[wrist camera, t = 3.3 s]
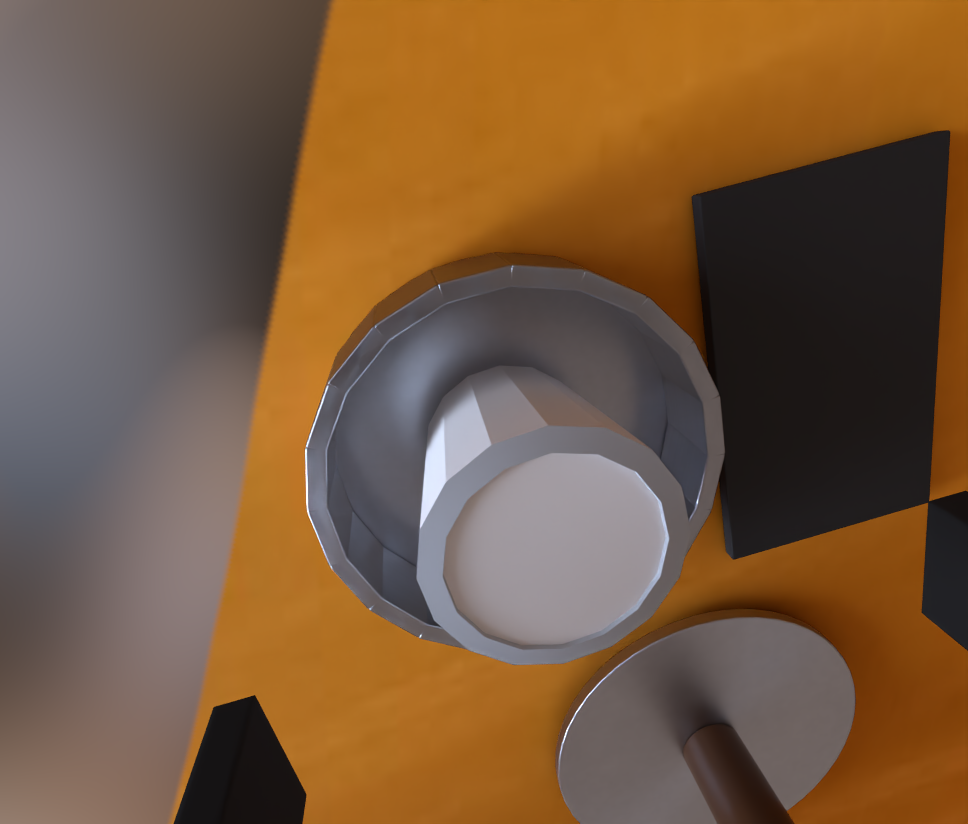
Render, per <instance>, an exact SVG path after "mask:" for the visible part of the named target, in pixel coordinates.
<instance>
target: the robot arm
mask: <svg viewBox="0 0 968 824" xmlns="http://www.w3.org/2000/svg"><path fill="white" fill-rule="evenodd" d="M922 613H923V614H924V615H925V616H926V617H927V618H929V619H930V620H931V621H932V622H933V623H935V624H936V625H937V626H938V627H940V628H941V629H942V630H943V631H944V632H946V633H947V634H948V635H949V636H950V637H952V638H953V639H954V640H955V641H957V642H958V643H959V644H960V645H961V646H963V647H964V648H965V649H966V650H967V651H968V492H967V491H963V492H960V493H956V494H953V495H949V496H946V497H942V498H939V499H935V500H932V501H929V502H928V517H927V533H926V550H925V567H924V583H923V600H922ZM305 802H306V793H305V791H304V789H303V787H302V785H301V783H300V781H299V779H298V777H297V775H296V773H295V771H294V769H293V768H292V766H291V764H290V762H289V760H288V758H287V756H286V754H285V752H284V750H283V748H282V746H281V744H280V743H279V741H278V739H277V737H276V735H275V733H274V731H273V729H272V727H271V725H270V723H269V721H268V719H267V717H266V716H265V714H264V712H263V710H262V708H261V706H260V704H259V702H258V700H257V698H256V696H255V695H254V696H251V697H247V698H244V699H240V700H237V701H233V702H230V703H226V704H223V705H219V706H216V707H214V708H213V711H212V714H211V717H210V719H209V722H208V725H207V728H206V731H205V734H204V737H203V740H202V743H201V746H200V749H199V751H198V754H197V757H196V760H195V763H194V766H193V769H192V772H191V775H190V778H189V781H188V783H187V786H186V789H185V792H184V795H183V798H182V801H181V804H180V807H179V810H178V813H177V816H176V818H175V821H174V824H302V822H303V815H304V808H305Z"/></svg>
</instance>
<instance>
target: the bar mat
mask: <svg viewBox="0 0 968 824" xmlns="http://www.w3.org/2000/svg"><path fill="white" fill-rule="evenodd" d="M949 145H950V131H948V130H946V131H936V132H932V133H928V134H924V135H920V136H916V137H913V138H909V139H905V140H901V141H897V142H894V143H890V144H886V145H882V146H878V147H875V148H871V149H867V150H863V151H859V152H856V153H852V154H848V155H844V156H840V157H837V158H833V159H829V160H825V161H821V162H818V163H814V164H810V165H806V166H802V167H799V168H795V169H791V170H787V171H783V172H780V173H776V174H772V175H768V176H764V177H761V178H757V179H753V180H749V181H745V182H742V183H738V184H734V185H730V186H726V187H723V188H719V189H715V190H711V191H707V192H704V193H700V194H696V195H693V196H692V205H693V215H694V225H695V236H696V246H697V256H698V267H699V277H700V287H701V298H702V308H703V318H704V329H705V339H706V349H707V360H708V370H709V373H710V375H711V378H712V380H713V382H714V384H715V386H716V388H717V390H718V392H719V396H720V400H721V412H722V423H723V434H724V445H725V453H724V455H725V456H724V461H723V465H722V469H721V473H720V477H719V484H720V494H721V504H722V515H723V525H724V535H725V546H726V552H727V553H728V554H729V556H730V557H731V558H732V559H738V558H741V557H745V556H748V555H751V554H755V553H758V552H762V551H765V550H768V549H772V548H775V547H779V546H782V545H785V544H789V543H792V542H796V541H799V540H802V539H806V538H809V537H813V536H816V535H819V534H823V533H826V532H830V531H833V530H836V529H840V528H843V527H847V526H850V525H853V524H857V523H860V522H864V521H867V520H870V519H874V518H877V517H881V516H884V515H887V514H891V513H894V512H898V511H901V510H904V509H908V508H911V507H915V506H918V505H921V504H925V503H928V502H929V495H930V477H931V460H932V442H933V425H934V407H935V390H936V372H937V355H938V337H939V320H940V302H941V285H942V268H943V250H944V233H945V215H946V198H947V180H948V163H949Z"/></svg>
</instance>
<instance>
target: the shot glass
mask: <svg viewBox="0 0 968 824" xmlns="http://www.w3.org/2000/svg"><path fill="white" fill-rule="evenodd" d="M690 533H691V531H690V526H689V521H688V515H687V510H686V505H685V500H684V495H683V490H682V487H681V485H680V484H679V483H678V481H677V480H676V479H675V478H674V476H673V475H672V474H671V473H670V471H669V470H668V469H667V468H666V466H665V465H664V464H663V463H662V461H661V460H660V459H659V458H658V456H657V455H656V454H655V452H654V451H653V450H652V449H651V448H649V447H648V446H647V445H645V444H644V443H643V442H641V441H640V440H638V439H637V438H636V437H634V436H633V435H632V434H630V433H629V432H628V431H626V430H625V429H624V428H622V427H621V426H620V425H618V424H617V423H616V422H614V421H613V420H612V419H610V418H609V417H607V416H606V415H605V414H603V413H602V412H601V411H599V410H598V409H597V408H595V407H594V406H593V405H591V404H590V403H589V402H587V401H586V400H585V399H583V398H582V397H581V396H579V395H578V394H577V393H575V392H574V391H572V390H571V389H570V388H568V387H567V386H566V385H564V384H563V383H562V382H560V381H559V380H557V379H555V378H553V377H551V376H549V375H547V374H545V373H543V372H541V371H538V370H536V369H534V368H532V367H519V366H501V365H499V366H496V367H493V368H490V369H487V370H484V371H481V372H478V373H476V374H473V375H470V376H467V377H466V378H465V379H464V380H463V381H462V382H460V383H459V384H458V385H457V386H456V387H454V388H453V389H452V390H451V391H450V392H448V393H447V394H446V395H445V396H444V397H443V398H442V400H441V402H440V404H439V406H438V408H437V410H436V411H435V413H434V415H433V417H432V419H431V421H430V423H429V425H428V436H427V448H426V460H425V472H424V484H423V496H422V508H421V520H420V532H419V547H418V561H417V576H416V579H417V581H418V584H419V586H420V588H421V591H422V593H423V595H424V598H425V600H426V602H427V605H428V607H429V610H430V612H431V614H432V617H433V619H434V621H435V622H436V623H438V624H439V625H440V626H441V627H442V628H443V629H445V630H446V631H447V632H448V633H449V634H450V635H451V636H453V637H454V638H455V639H456V640H457V641H458V642H460V643H461V644H462V645H463V646H464V647H465V648H467V649H468V650H469V651H472V652H475V653H478V654H481V655H485V656H488V657H491V658H494V659H497V660H500V661H503V662H506V663H510V664H513V665H530V664H563V663H566V662H569V661H572V660H575V659H578V658H581V657H584V656H586V655H589V654H592V653H595V652H598V651H601V650H603V649H606V648H609V647H612V646H613V645H614V644H616V643H617V642H618V641H620V640H621V639H622V638H624V637H625V636H627V635H628V634H629V633H631V632H632V631H633V630H635V629H636V628H637V627H639V626H640V625H641V624H643V623H644V622H645V621H647V620H648V619H649V618H651V617H652V616H653V614H654V613H655V611H656V610H657V609H658V607H659V606H660V604H661V603H662V601H663V600H664V599H665V597H666V596H667V594H668V593H669V591H670V590H671V589H672V587H673V586H674V584H675V583H676V581H677V580H678V579H679V577H680V573H681V569H682V565H683V561H684V557H685V553H686V549H687V545H688V541H689V537H690Z"/></svg>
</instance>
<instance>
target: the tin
mask: <svg viewBox="0 0 968 824" xmlns="http://www.w3.org/2000/svg"><path fill="white" fill-rule="evenodd" d="M499 365H501V366H519V367H532V368H534V369H536V370H538V371H541V372H543V373H545V374H547V375H549V376H551V377H553V378H555V379H557V380H559V381H560V382H562V383H563V384H564V385H566V386H567V387H568V388H570V389H571V390H572V391H574V392H575V393H577V394H578V395H579V396H581V397H582V398H583V399H585V400H586V401H587V402H589V403H590V404H591V405H593V406H594V407H595V408H597V409H598V410H599V411H601V412H602V413H603V414H605V415H606V416H607V417H609V418H610V419H612V420H613V421H614V422H616V423H617V424H618V425H620V426H621V427H622V428H624V429H625V430H626V431H628V432H629V433H630V434H632V435H633V436H634V437H636V438H637V439H638V440H640V441H641V442H643V443H644V444H645V445H647V446H648V447H649V448H651V449H652V450H653V451H654V452H655V454H656V455H657V456H658V458H659V459H660V460H661V461H662V463H663V464H664V465H665V466H666V468H667V469H668V470H669V471H670V473H671V474H672V475H673V476H674V478H675V479H676V480H677V481H678V483H679V484H680V485H681V487H682V490H683V495H684V500H685V505H686V510H687V515H688V521H689V526H690V531H691V533H690V537H689V541H688V545H687V549H686V553H685V556H686V554H687V552H688V551H689V549H690V547H691V545H692V544H693V542H694V540H695V538H696V537H697V535H698V533H699V532H700V530H701V528H702V526H703V525H704V523H705V521H706V519H707V518H708V516H709V514H710V513H711V509H712V507H713V503H714V498H715V494H716V490H717V486H718V482H719V477H720V473H721V469H722V465H723V461H724V456H725V455H724V453H725V445H724V434H723V423H722V412H721V400H720V396H719V392H718V390H717V388H716V386H715V384H714V382H713V380H712V378H711V375H710V373H709V371H708V369H707V367H706V365H705V363H704V361H703V359H702V356H701V354H700V352H699V350H698V348H697V346H696V344H695V342H694V341H693V339H692V338H691V337H690V336H689V335H688V334H687V333H686V332H685V331H684V330H683V329H682V328H681V327H680V326H679V325H678V324H677V323H676V322H675V321H673V320H672V319H671V318H670V317H669V316H668V315H667V314H666V313H665V312H664V311H663V310H662V309H661V308H660V307H659V306H658V305H657V304H656V303H655V302H654V301H653V300H652V299H651V298H649V297H648V296H646V295H645V294H642V293H640V292H638V291H636V290H633V289H631V288H629V287H627V286H624V285H622V284H620V283H617V282H615V281H613V280H611V279H608V278H606V277H604V276H601V275H599V274H597V273H594V272H592V271H590V270H587V269H585V268H583V267H580V266H578V265H576V264H573V263H571V262H569V261H566V260H564V259H562V258H558V257H556V256H542V255H532V254H520V253H498V252H495V253H489V254H486V255H482V256H477V257H472V258H466V259H461V260H458V261H455V262H452V263H449V264H446V265H443V266H440V267H436V268H433V269H431V270H428V271H427V272H425V273H424V274H422V275H421V276H419V277H417V278H415V279H413V280H411V281H409V282H408V283H406V284H405V285H403V286H402V287H400V288H399V289H397V290H396V291H395V292H393V293H392V294H390V295H389V296H388V297H387V298H385V299H384V300H382V301H381V302H379V303H378V304H377V305H376V306H374V307H373V309H372V310H371V311H370V312H369V314H368V315H367V316H366V317H365V319H364V320H363V321H362V322H361V323H360V324H359V326H358V327H357V328H356V329H355V330H354V331H353V333H352V334H351V336H350V338H349V339H348V340H347V342H346V343H345V344H344V345H343V347H342V348H341V349H340V350H339V352H338V353H337V356H336V357H335V360H334V363H333V366H332V368H331V371H330V374H329V377H328V380H327V383H326V386H325V389H324V392H323V395H322V398H321V400H320V403H319V406H318V409H317V412H316V415H315V418H314V422H313V425H312V428H311V431H310V434H309V437H308V440H307V443H306V448H305V460H306V501H307V511H308V515H309V517H310V520H311V522H312V524H313V527H314V529H315V532H316V534H317V537H318V539H319V542H320V544H321V547H322V549H323V552H324V554H325V556H326V559H327V561H328V564H329V565H330V566H331V568H332V569H333V571H334V572H335V573H336V574H337V575H338V576H339V577H340V578H341V579H342V581H343V582H344V583H345V584H346V585H347V586H348V587H349V588H350V589H351V590H352V592H353V593H354V594H355V595H356V596H357V597H358V598H359V599H360V600H361V602H362V603H363V604H364V605H365V606H366V607H367V608H368V609H370V611H372V612H374V613H376V614H377V615H379V616H381V617H383V618H384V619H386V620H388V621H390V622H392V623H393V624H395V625H397V626H399V627H400V628H402V629H404V630H406V631H407V632H409V633H411V634H413V635H415V636H416V637H419V638H420V639H424V640H429V641H433V642H438V643H442V644H446V645H451V646H455V647H459V648H464V649H467V648H465V647H464V646H463V645H462V644H461V643H460V642H458V641H457V640H456V639H455V638H454V637H453V636H451V635H450V634H449V633H448V632H447V631H446V630H445V629H443V628H442V627H441V626H440V625H439V624H438V623H436V622H435V621H434V619H433V617H432V614H431V612H430V610H429V607H428V605H427V602H426V600H425V598H424V595H423V593H422V591H421V588H420V586H419V584H418V581H417V579H416V576H417V561H418V547H419V532H420V520H421V508H422V496H423V484H424V472H425V460H426V448H427V436H428V425H429V423H430V421H431V419H432V417H433V415H434V413H435V411H436V410H437V408H438V406H439V404H440V402H441V400H442V398H443V397H444V396H445V395H446V394H447V393H448V392H450V391H451V390H452V389H453V388H454V387H456V386H457V385H458V384H459V383H460V382H462V381H463V380H464V379H465V378H466V377H467V376H470V375H473V374H476V373H478V372H481V371H484V370H487V369H490V368H493V367H496V366H499Z"/></svg>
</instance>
